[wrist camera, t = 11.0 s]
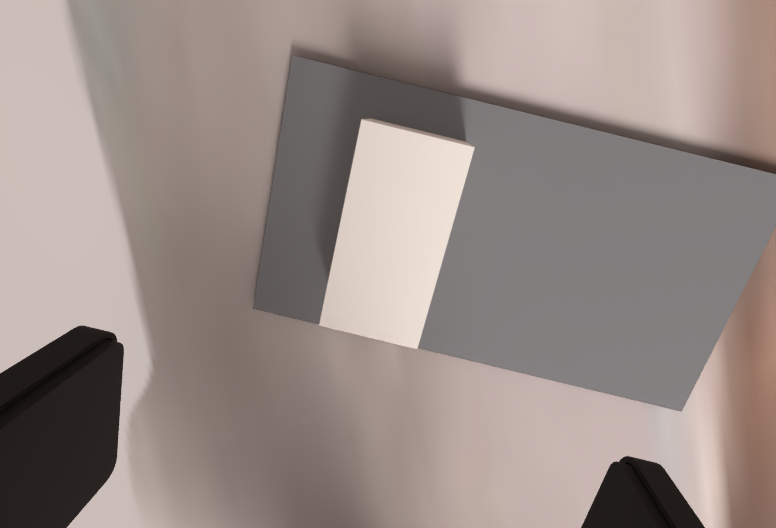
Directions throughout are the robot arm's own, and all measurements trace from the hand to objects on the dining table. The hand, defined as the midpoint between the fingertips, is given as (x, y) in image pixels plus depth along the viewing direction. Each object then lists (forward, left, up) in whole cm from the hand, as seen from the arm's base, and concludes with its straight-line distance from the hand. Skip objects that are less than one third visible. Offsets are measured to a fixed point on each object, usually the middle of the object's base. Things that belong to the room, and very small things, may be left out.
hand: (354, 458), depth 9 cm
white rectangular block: (0, 0, -18) cm, 18 cm away
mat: (0, -6, -18) cm, 19 cm away
